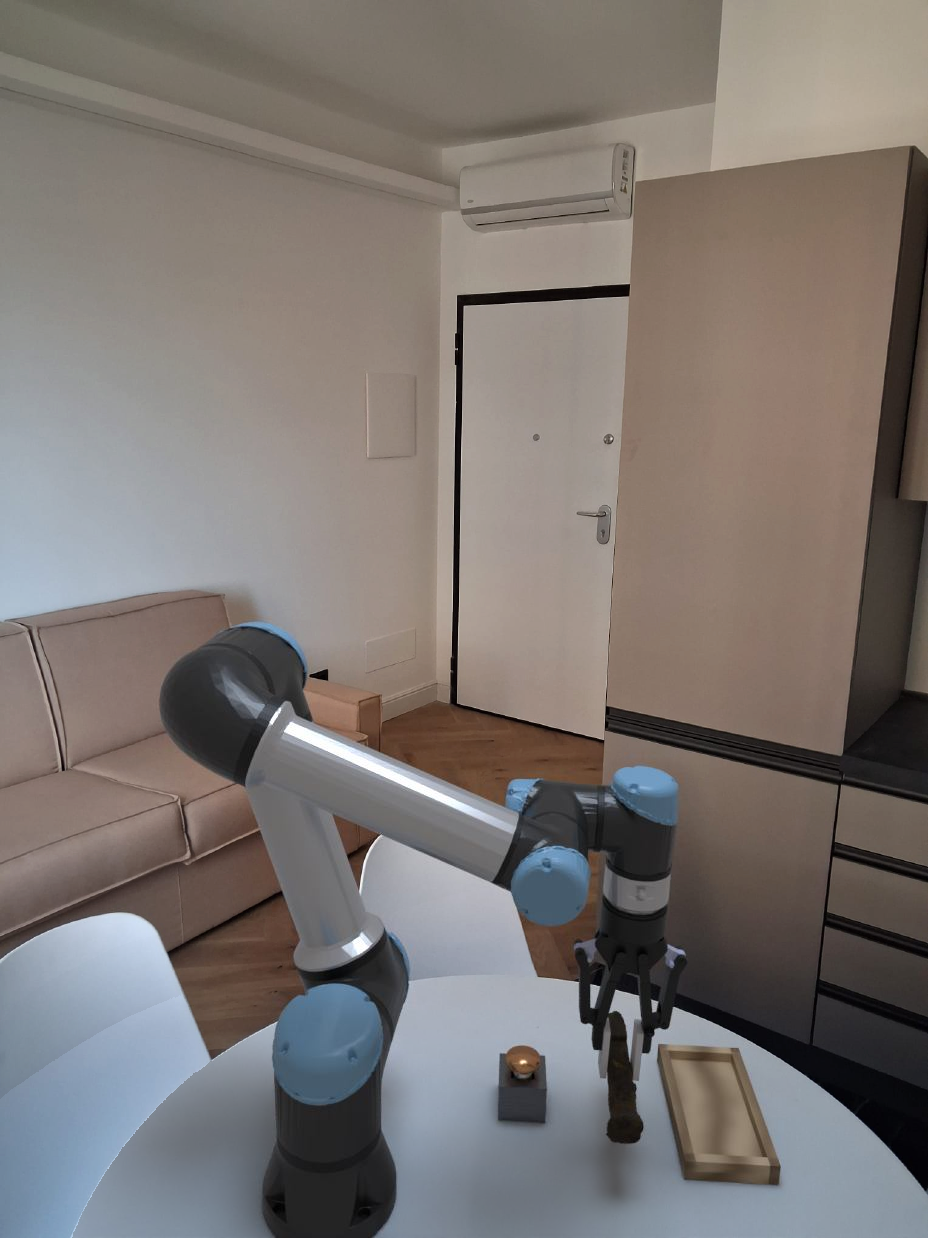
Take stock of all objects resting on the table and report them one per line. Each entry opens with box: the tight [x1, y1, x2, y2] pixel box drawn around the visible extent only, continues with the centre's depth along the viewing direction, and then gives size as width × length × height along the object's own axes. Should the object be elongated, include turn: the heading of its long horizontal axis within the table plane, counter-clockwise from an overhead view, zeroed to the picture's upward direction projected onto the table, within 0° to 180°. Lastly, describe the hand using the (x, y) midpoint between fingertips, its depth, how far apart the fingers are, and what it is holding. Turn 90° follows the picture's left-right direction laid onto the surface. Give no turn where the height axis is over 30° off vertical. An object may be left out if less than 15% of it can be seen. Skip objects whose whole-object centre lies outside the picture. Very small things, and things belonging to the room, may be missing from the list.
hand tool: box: [605, 1010, 645, 1145], centre depth 110 cm, size 19×4×5 cm, turn 172°
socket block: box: [497, 1052, 548, 1124], centre depth 117 cm, size 6×6×5 cm
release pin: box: [505, 1044, 541, 1080], centre depth 116 cm, size 4×4×7 cm
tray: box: [656, 1043, 782, 1186], centre depth 115 cm, size 11×20×3 cm, turn 177°
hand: (618, 1071), depth 110 cm, fingers closed on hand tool, 3 cm apart
